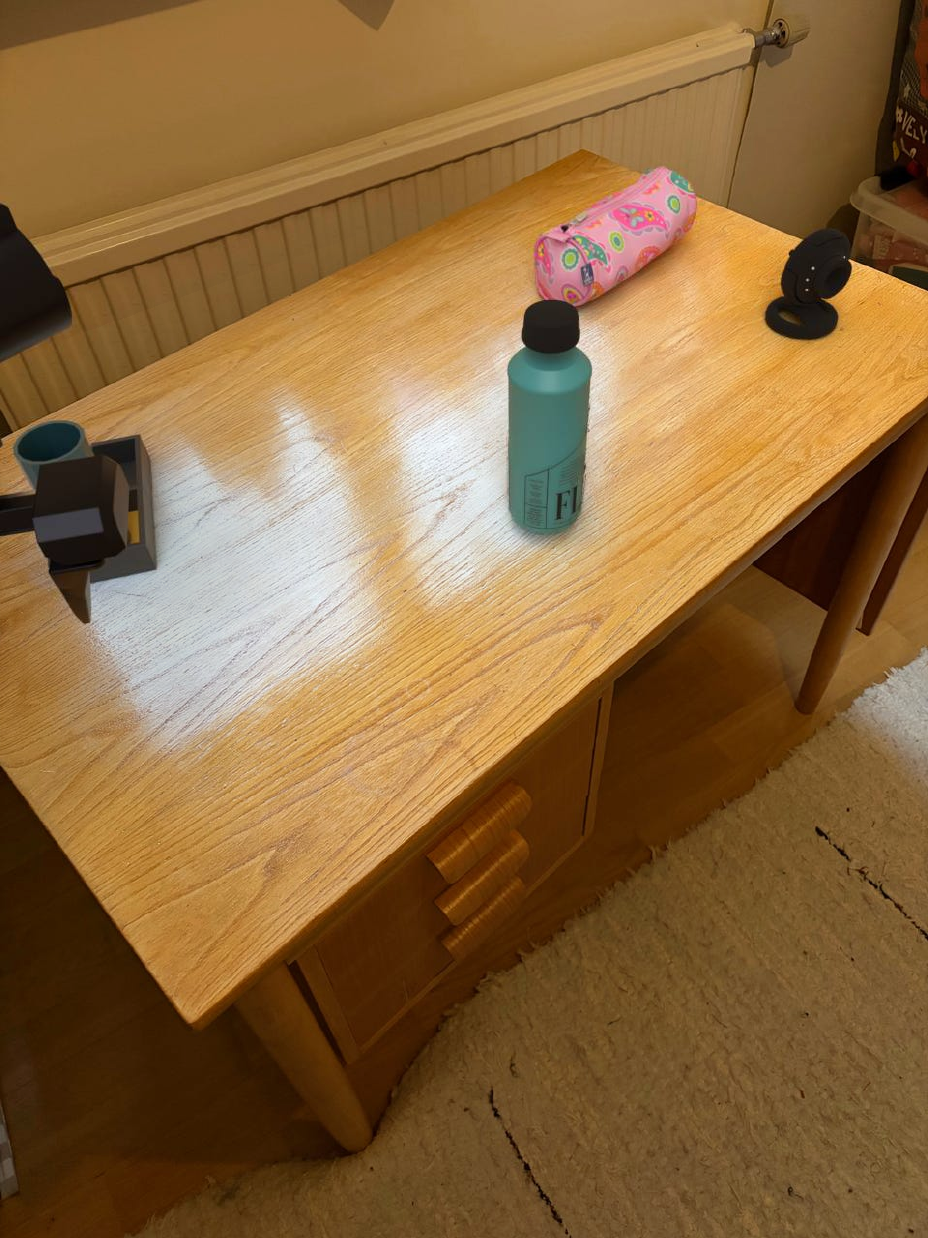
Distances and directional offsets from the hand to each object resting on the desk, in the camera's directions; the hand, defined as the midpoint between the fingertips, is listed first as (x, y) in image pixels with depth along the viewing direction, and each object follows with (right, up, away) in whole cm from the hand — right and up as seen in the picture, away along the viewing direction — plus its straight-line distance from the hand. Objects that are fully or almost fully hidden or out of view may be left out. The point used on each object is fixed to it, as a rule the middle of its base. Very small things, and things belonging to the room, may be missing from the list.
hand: (10, 631), depth 53 cm
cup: (-4, +7, +22) cm, 24 cm away
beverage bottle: (+34, +9, +23) cm, 42 cm away
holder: (-4, +10, +25) cm, 27 cm away
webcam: (+64, +33, +41) cm, 83 cm away
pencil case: (+45, +41, +49) cm, 78 cm away
